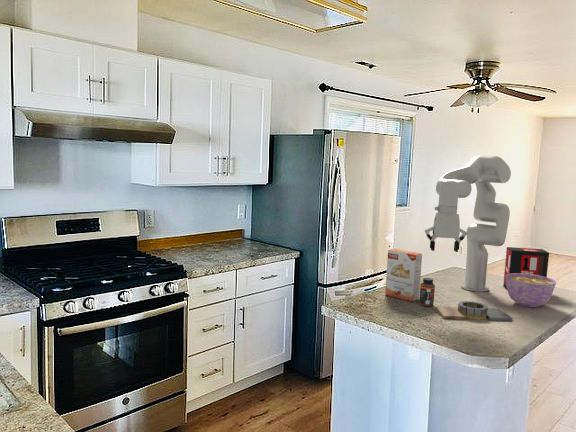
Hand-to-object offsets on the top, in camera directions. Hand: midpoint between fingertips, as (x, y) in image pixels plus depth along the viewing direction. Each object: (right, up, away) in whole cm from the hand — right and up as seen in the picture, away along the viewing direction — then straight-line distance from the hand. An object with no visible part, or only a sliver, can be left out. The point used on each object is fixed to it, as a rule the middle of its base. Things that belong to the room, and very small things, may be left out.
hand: (444, 250), depth 205 cm
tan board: (+5, -25, -8) cm, 27 cm away
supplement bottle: (-7, -23, +4) cm, 25 cm away
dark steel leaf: (+13, -25, -8) cm, 29 cm away
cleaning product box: (+49, -22, +33) cm, 63 cm away
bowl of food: (+39, -24, +9) cm, 47 cm away
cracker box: (-15, -22, +13) cm, 30 cm away
